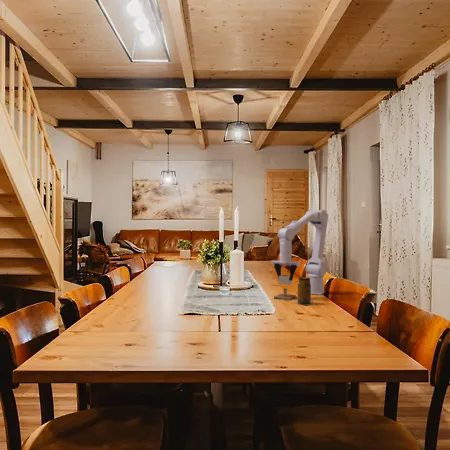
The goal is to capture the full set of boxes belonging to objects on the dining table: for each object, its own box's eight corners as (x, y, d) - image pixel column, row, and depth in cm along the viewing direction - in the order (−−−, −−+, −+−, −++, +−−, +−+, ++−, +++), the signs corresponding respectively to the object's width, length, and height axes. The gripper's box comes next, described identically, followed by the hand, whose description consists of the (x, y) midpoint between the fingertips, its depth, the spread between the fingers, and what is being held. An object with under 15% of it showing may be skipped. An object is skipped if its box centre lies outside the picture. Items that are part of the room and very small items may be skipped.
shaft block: (280, 295, 230) (280, 286, 230) (295, 297, 227) (295, 288, 227) (274, 298, 221) (274, 289, 221) (289, 300, 218) (289, 291, 218)
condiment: (303, 301, 216) (303, 276, 216) (317, 304, 210) (317, 278, 209) (293, 303, 211) (293, 277, 211) (307, 306, 205) (307, 279, 205)
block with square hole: (281, 282, 228) (281, 274, 228) (291, 283, 225) (292, 275, 225) (278, 283, 223) (278, 275, 223) (288, 285, 221) (289, 276, 220)
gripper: (269, 252, 223) (268, 279, 223) (297, 253, 217) (297, 281, 217) (273, 251, 230) (273, 278, 230) (301, 252, 223) (301, 280, 224)
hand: (285, 279), depth 224 cm, fingers closed on block with square hole, 5 cm apart
